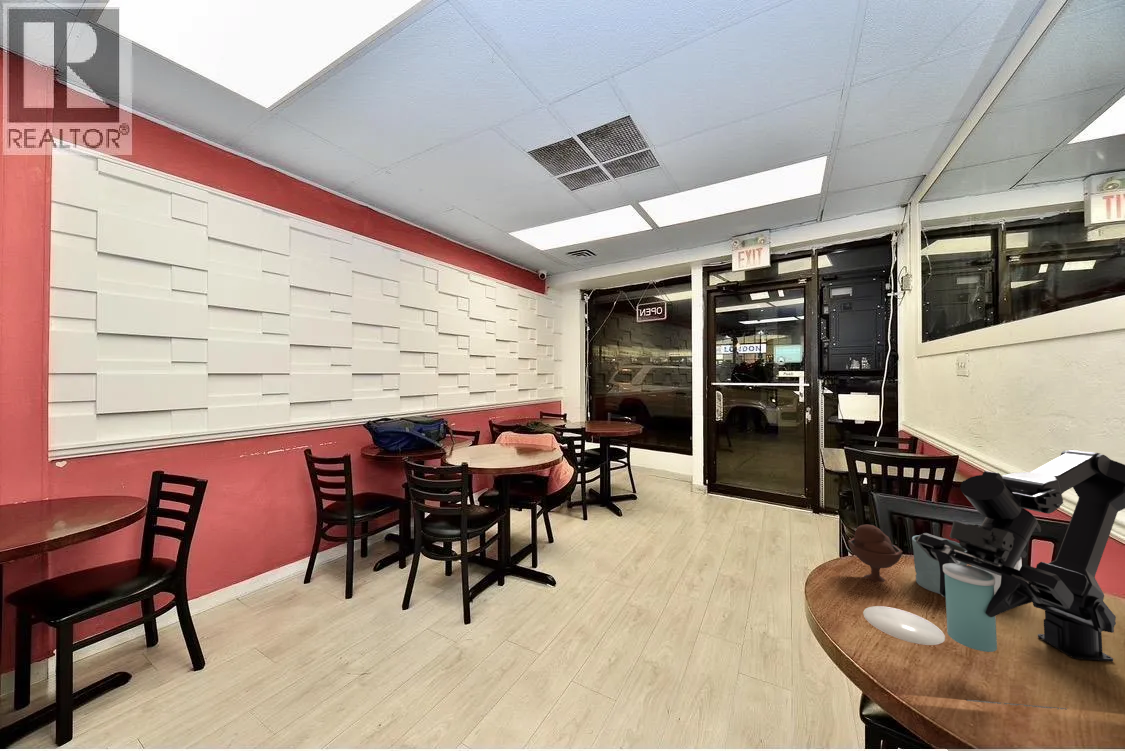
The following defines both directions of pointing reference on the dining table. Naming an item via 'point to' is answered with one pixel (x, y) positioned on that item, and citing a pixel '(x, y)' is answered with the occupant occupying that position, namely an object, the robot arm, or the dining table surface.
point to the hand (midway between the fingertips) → (964, 604)
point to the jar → (998, 577)
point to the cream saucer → (904, 625)
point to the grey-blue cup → (929, 566)
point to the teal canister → (970, 606)
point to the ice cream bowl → (874, 550)
